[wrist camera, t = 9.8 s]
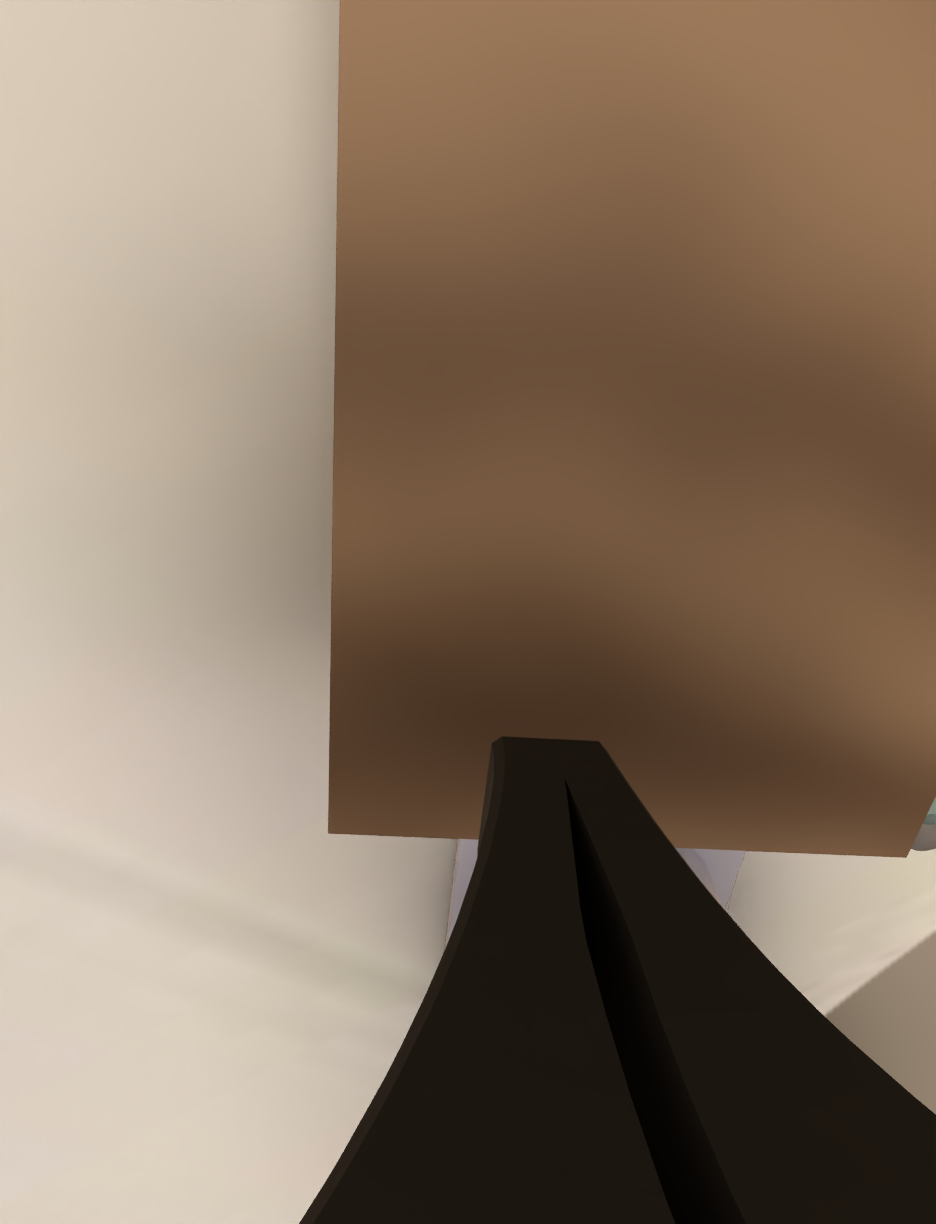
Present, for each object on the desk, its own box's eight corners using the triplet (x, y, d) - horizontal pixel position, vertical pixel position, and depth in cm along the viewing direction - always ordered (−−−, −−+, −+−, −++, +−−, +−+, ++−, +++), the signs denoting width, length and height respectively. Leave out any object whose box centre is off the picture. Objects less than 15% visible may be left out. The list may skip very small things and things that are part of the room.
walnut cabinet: (793, 678, 22) (906, 857, 17) (354, 653, 21) (328, 833, 16) (1077, -151, 14) (1468, -306, 9) (381, -247, 13) (346, -481, 8)
